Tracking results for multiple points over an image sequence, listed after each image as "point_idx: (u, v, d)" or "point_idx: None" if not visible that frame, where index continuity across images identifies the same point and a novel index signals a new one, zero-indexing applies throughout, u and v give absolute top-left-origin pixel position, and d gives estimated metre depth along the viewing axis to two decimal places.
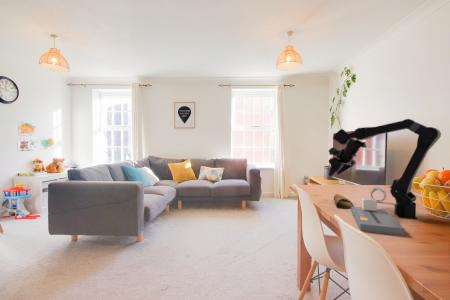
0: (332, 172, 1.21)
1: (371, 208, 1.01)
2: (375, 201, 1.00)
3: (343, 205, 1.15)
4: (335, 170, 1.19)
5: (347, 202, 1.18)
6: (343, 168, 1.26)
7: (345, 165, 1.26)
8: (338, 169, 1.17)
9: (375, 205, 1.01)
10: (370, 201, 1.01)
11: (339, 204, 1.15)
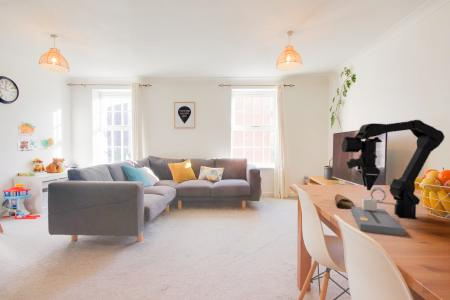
0: (371, 184, 0.98)
1: (371, 208, 1.01)
2: (375, 201, 1.00)
3: (343, 205, 1.15)
4: (373, 180, 0.97)
5: (348, 202, 1.18)
6: None
7: None
8: (377, 176, 0.96)
9: (375, 205, 1.01)
10: (370, 201, 1.01)
11: (339, 204, 1.15)
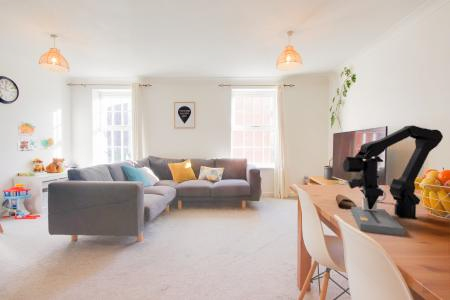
0: (372, 203, 1.00)
1: None
2: None
3: (345, 205, 1.15)
4: (374, 199, 0.99)
5: (349, 202, 1.18)
6: None
7: None
8: (378, 196, 0.98)
9: (375, 205, 1.01)
10: None
11: (341, 204, 1.15)
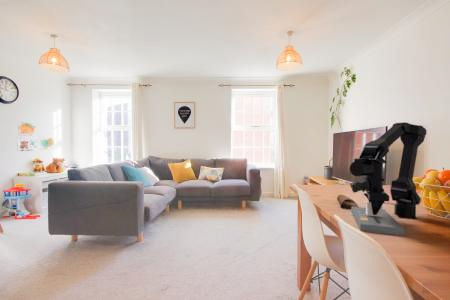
0: (377, 209, 0.92)
1: None
2: None
3: (347, 205, 1.14)
4: (380, 204, 0.91)
5: (351, 202, 1.17)
6: None
7: None
8: (384, 201, 0.90)
9: (380, 211, 0.92)
10: None
11: (343, 204, 1.15)
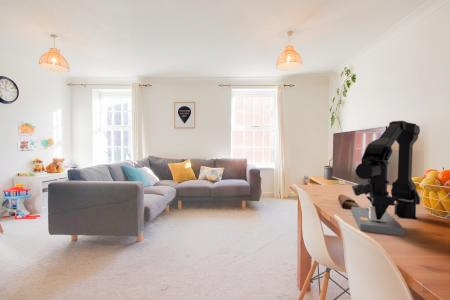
0: (381, 213, 0.86)
1: None
2: None
3: (349, 206, 1.14)
4: (384, 208, 0.85)
5: (352, 202, 1.17)
6: None
7: None
8: None
9: (384, 215, 0.87)
10: None
11: (344, 204, 1.14)
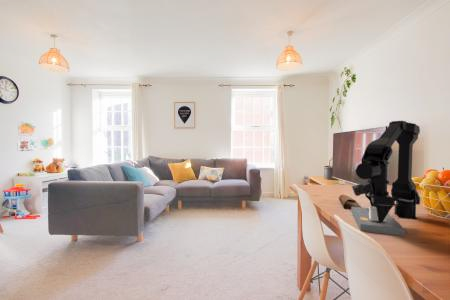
0: (383, 215, 0.83)
1: None
2: None
3: (350, 206, 1.14)
4: (386, 210, 0.82)
5: (354, 203, 1.17)
6: None
7: None
8: (391, 207, 0.81)
9: None
10: None
11: (346, 205, 1.14)
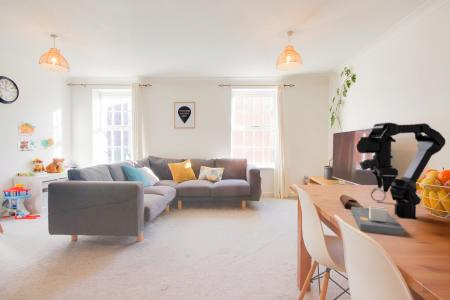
0: (387, 186, 0.94)
1: (380, 219, 0.87)
2: (384, 210, 0.87)
3: (352, 206, 1.13)
4: (390, 181, 0.93)
5: (355, 203, 1.17)
6: None
7: None
8: (395, 177, 0.92)
9: (384, 215, 0.87)
10: (378, 210, 0.87)
11: (347, 205, 1.14)
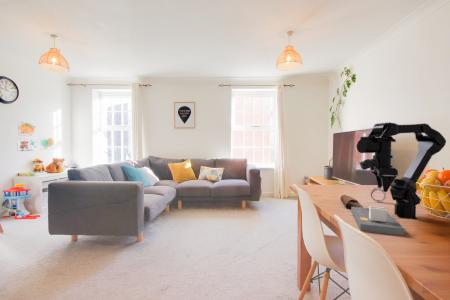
0: (387, 185, 0.94)
1: (380, 219, 0.87)
2: (384, 210, 0.87)
3: (353, 206, 1.13)
4: (390, 181, 0.94)
5: (356, 203, 1.17)
6: None
7: None
8: (395, 177, 0.92)
9: (384, 215, 0.87)
10: (378, 210, 0.87)
11: (348, 205, 1.14)
